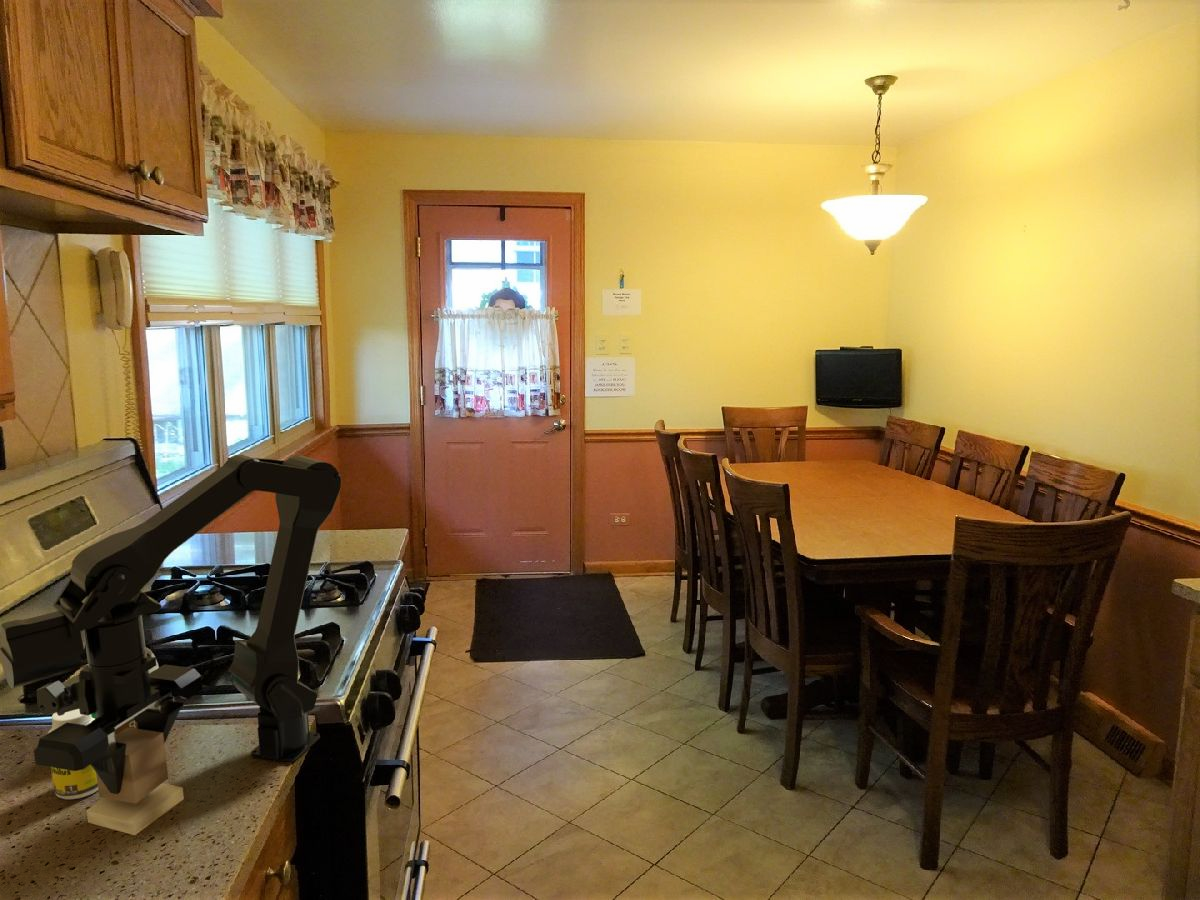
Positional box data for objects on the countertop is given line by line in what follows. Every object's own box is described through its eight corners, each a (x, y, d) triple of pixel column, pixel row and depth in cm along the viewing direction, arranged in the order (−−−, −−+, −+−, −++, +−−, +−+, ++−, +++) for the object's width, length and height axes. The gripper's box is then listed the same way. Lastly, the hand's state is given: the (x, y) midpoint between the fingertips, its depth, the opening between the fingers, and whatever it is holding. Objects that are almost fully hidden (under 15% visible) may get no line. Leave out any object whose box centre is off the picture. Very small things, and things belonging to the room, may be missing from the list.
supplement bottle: (45, 793, 100) (33, 716, 98) (91, 770, 105) (81, 696, 103) (70, 807, 98) (59, 728, 96) (117, 783, 102) (107, 707, 100)
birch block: (139, 790, 101) (137, 776, 101) (184, 802, 99) (182, 787, 99) (88, 825, 95) (86, 810, 95) (135, 839, 93) (133, 823, 92)
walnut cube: (133, 772, 99) (127, 727, 98) (168, 778, 98) (162, 732, 97) (99, 797, 95) (92, 749, 93) (135, 803, 93) (129, 755, 92)
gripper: (123, 617, 104) (138, 729, 107) (-18, 686, 86) (4, 818, 89) (198, 625, 101) (211, 740, 104) (68, 698, 83) (88, 834, 87)
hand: (133, 779), depth 96 cm, fingers closed on walnut cube, 5 cm apart
